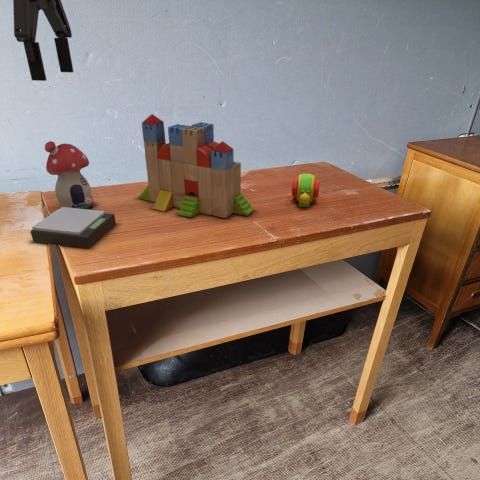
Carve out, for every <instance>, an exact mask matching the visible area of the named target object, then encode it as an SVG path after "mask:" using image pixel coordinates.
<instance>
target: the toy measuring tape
mask: <svg viewBox="0 0 480 480" xmlns="http://www.w3.org/2000/svg"><path fill="white" fill-rule="evenodd" d="M315 177H316V176H315V175H313V173H301V174H298V178H297V179H296V178H295V179H293V180H292V184H291V185H292V186H291V196H292V197H294V198H296V202H298V207H300V208H310V203H313V198H314V199H317V198H319V194H320V193H319V192H320V183H321V182H320V181H319V180H317V179H316V180H315Z"/></svg>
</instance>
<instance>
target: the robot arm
mask: <svg viewBox="0 0 480 480" xmlns="http://www.w3.org/2000/svg"><path fill="white" fill-rule="evenodd" d="M12 5H13V6H12V7H13V35H14V37H15V39H16V42H19V43H23V47H24V52H25V57H26V60H27V61H26V62H27V65H28V69H29V72H30V78H31V81H37V82H39V81H40V82H45V81H47V75H46V71H45V66H44V62H43V56H42V52H41V48H40V43H39V41H36V39H37V30H38V21H39V14H40V11H42V12H43V14H44V15H45V18H46V20H47V21H48V23H49V25H50V27H51V30H52V31H53V33H54V35H55V37H54V38H53V40H54V45H55V50H56V56H57V61H58V66H59V72H60V73H74V66H73V61H72V56H71V50H70V45H69V38H72V37H73V34H72V28H71V26H70V23H69V20H68V18H67V14H66V12H65V7H64V5H63V3H62V0H13V3H12Z"/></svg>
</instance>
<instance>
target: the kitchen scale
mask: <svg viewBox="0 0 480 480" xmlns="http://www.w3.org/2000/svg"><path fill="white" fill-rule="evenodd" d="M116 225H117V222H116V216H115V213H110V212H109V213H108V212H106V211H105V210H97V209H96V210H95V209H77V208H68V207H62V206H61V207H59V208H58V209H56V210H55V211H54V212H52V213H50V214H49V215H48V216H46V217H45V218H43V219H42V220H41V221H38V223H36V224H34V225H33V226H31V228H32V229H31V230H30V235H31V238H32V241H33V243H38V244H46V245H55V246H62V247H63V246H64V247H70V248H71V247H73V248H81V249H91V248H92V247H93V246H94V245H95V244H96V243H97V242H98V241H99V240H101V239H102V238H103V237H104V236H105V235H106V234H107V233H108V232H109V231H111V230H112V229H113V228H114V227H116Z"/></svg>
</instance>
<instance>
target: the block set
mask: <svg viewBox="0 0 480 480" xmlns="http://www.w3.org/2000/svg"><path fill="white" fill-rule="evenodd" d="M214 127H215V125H214V123H212V122H211V123H210V122H202V121H199V122H196V123H193V124H191V125H188V124H187V125H185V124H180V123H176V124H174V125H173V124H172V125H169V126H168V127H167V135H168V143H167V141H166V132H165V122H164V120H162V119H160V118H159V117H158V116H156V115H155V114H153V113H151V114H149V116H148V117H146V118H145V119H144V120H143V121H142V122H141V130H142V131H141V132H142V137H143V138H142V139H143V148H144V158H145V165H146V175H147V176H146V177H147V184H148V185H147V186H146V187H145V188H144V189H143V191H142V192H141V193H140V194H138V199H139V200H144V201H147V202H152V203H154V204H153V206H152V209H153V210H157V211H160V212H166V211H169V210H170V209H171V208H173V207H174V208H178V209H179V210H178V211H177V215H178V216H182V217H185V218H192V217H194V216H196V215H198V214H199V213H200V214H204V215H209V216H214V217H218V218H222V219H227V218H229V217H230V216H232V215H233V214H237V215H241V216H249V215H250V214H252V213H253V212H254V211H255V207H254V206H252V204H251V203H250V202H248V198H245V194H244V193H241V192H242V191H241V187H242V186H241V185H242V162H240V161H234V159H235V156H234V154H235V153H234V152H235V150H234V148H233V147H232V146H230V145H229V144H228V143H227V142H225V141H220V143H219V142H217V141H215V140H214V139H215V137H214V136H215V133H214V130H215V128H214Z"/></svg>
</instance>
